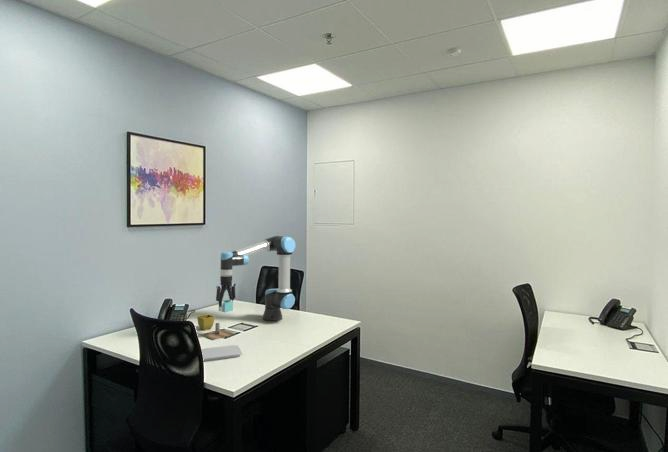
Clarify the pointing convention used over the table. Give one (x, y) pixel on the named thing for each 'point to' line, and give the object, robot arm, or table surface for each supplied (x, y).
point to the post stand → (217, 333)
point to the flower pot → (205, 321)
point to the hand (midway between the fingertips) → (225, 310)
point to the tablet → (221, 352)
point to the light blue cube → (227, 306)
